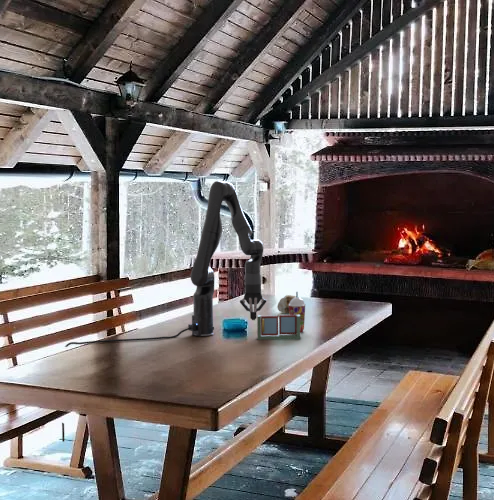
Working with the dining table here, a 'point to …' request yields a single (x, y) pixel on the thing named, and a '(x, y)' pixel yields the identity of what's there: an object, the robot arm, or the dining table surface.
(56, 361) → the dining table surface
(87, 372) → the dining table surface
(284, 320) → the green double frame
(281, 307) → the stone
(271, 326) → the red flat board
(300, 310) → the smoothie
